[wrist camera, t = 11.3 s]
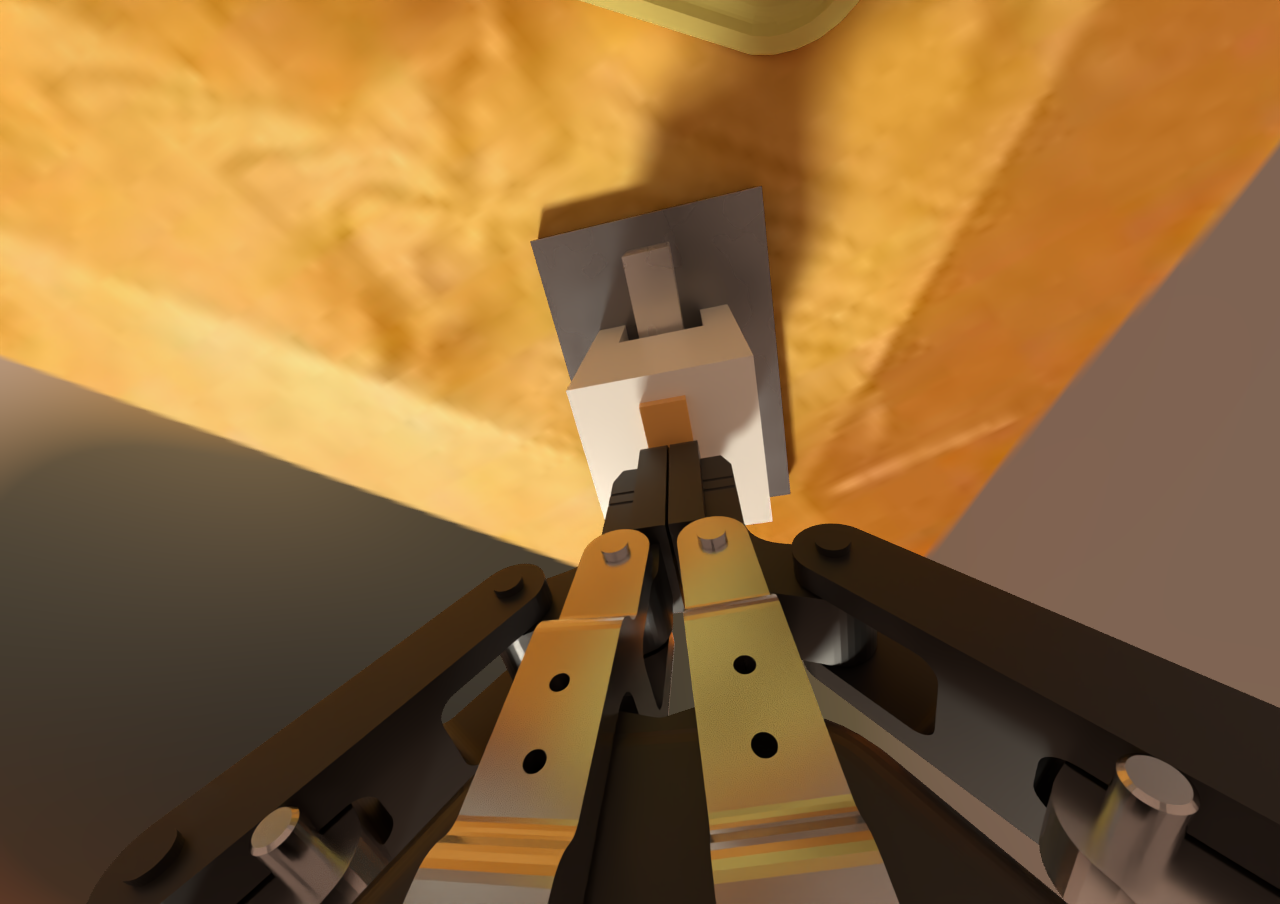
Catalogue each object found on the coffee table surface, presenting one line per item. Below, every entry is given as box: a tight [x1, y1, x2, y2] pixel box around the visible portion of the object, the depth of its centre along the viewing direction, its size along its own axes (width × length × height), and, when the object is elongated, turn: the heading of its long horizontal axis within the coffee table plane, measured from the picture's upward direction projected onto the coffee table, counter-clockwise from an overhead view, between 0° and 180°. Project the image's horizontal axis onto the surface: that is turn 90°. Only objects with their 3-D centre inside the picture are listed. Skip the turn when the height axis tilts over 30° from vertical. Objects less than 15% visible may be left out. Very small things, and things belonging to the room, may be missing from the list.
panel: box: [530, 186, 790, 497], centre depth 19 cm, size 12×8×3 cm, turn 12°
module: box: [566, 304, 772, 525], centre depth 16 cm, size 5×5×7 cm
